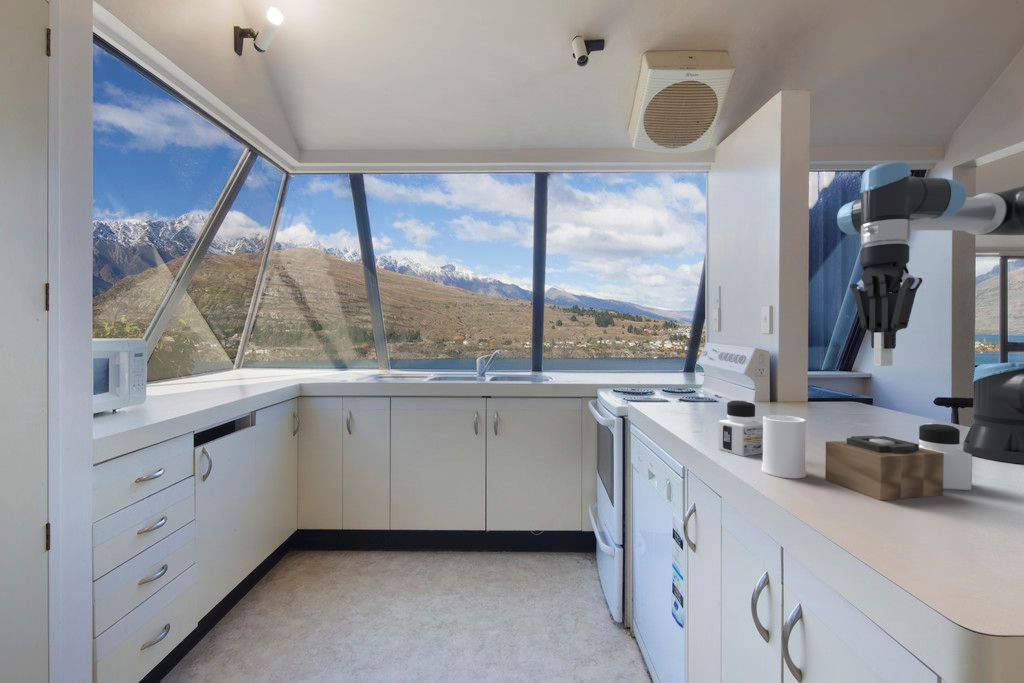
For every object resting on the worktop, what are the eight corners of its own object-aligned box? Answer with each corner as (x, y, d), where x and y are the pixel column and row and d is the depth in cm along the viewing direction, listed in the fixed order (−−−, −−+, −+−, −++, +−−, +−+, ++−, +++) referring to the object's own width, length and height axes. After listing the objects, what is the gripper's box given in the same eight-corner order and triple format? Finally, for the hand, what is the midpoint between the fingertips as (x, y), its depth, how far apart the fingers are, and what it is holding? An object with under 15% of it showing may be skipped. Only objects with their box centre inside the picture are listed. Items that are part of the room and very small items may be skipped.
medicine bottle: (972, 490, 90) (973, 429, 90) (929, 488, 92) (930, 427, 91) (946, 479, 97) (947, 422, 97) (906, 477, 99) (907, 420, 98)
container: (742, 456, 115) (743, 404, 115) (717, 449, 123) (718, 400, 122) (764, 453, 119) (765, 402, 118) (738, 446, 126) (739, 398, 125)
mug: (763, 461, 111) (764, 411, 111) (806, 467, 107) (806, 414, 106) (760, 474, 101) (760, 419, 101) (806, 481, 96) (807, 423, 96)
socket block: (881, 475, 100) (882, 433, 100) (942, 495, 88) (943, 446, 88) (825, 479, 97) (825, 435, 97) (880, 500, 85) (880, 450, 85)
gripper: (839, 250, 97) (838, 363, 98) (901, 238, 85) (900, 368, 85) (869, 251, 99) (868, 362, 99) (935, 239, 86) (933, 367, 86)
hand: (883, 365), depth 92 cm, fingers closed
